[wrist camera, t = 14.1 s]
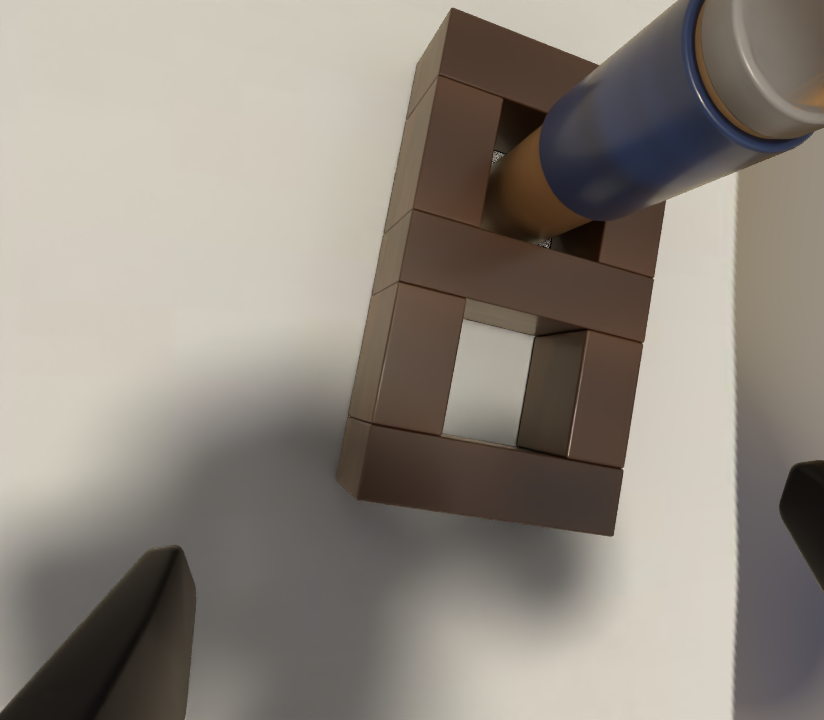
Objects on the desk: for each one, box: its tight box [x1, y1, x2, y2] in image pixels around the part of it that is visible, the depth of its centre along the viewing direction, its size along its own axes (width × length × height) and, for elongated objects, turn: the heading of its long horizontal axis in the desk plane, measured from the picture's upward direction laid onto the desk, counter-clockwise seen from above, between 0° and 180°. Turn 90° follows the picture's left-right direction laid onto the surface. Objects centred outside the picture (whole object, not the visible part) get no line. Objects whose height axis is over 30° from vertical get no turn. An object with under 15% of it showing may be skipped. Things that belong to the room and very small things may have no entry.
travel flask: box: [479, 0, 824, 245], centre depth 17 cm, size 4×4×12 cm
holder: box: [336, 8, 666, 537], centre depth 21 cm, size 15×9×4 cm, turn 169°
